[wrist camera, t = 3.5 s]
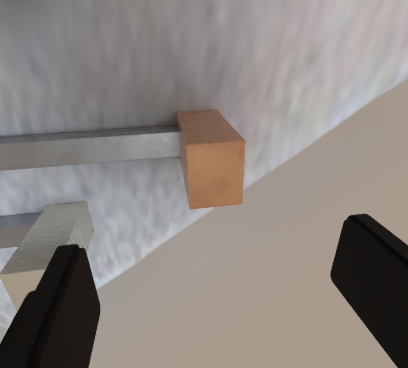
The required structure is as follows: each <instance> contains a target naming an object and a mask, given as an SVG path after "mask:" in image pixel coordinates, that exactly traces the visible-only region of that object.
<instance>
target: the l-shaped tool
mask: <svg viewBox="0 0 408 368" xmlns="http://www.w3.org/2000/svg"><path fill="white" fill-rule="evenodd" d="M93 232H94V230H93V226H92V222H91V218H90V215H89V211H88V207H87V203H86V201H85V202H75V203H65V204H54V205H47V206H46V207H45V209H44V210H43V212H39V213H29V214H19V215H9V216H0V248H9V247H18V246H19V247H18V248H17V250H16V251H15V252H14V254H13V255H12V257H11V258H10V260H9V261H8V263H7V264H6V265H5V267H4V268H3V270H2V271H1V273H0V278H1V280H2V282H3V284H4V286H5V288H6V290H7V292H8V294H9V296H10V298H11V300H12V302H13V304H14V305H15V307H16V309H17V311H18V310H19V308H20V306H21V304H22V302H23V300H24V299H25V297H26V296H27V294H28V293H29V292H31V291H35V289H36V287H37V286H38V284H39V282H40V280H41V278H42V276H43V274H44V272H45V270H46V268H47V266H48V264H49V262H50V260H51V258H52V256H53V254H54V252H55V250H56V248H57V247H58V246H61V245H70V244H78V245H79V247H80V248H85V250H86V253H87V250H88V247H89V244H90V241H91V238H92V235H93Z"/></svg>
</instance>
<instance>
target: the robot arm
mask: <svg viewBox="0 0 408 368" xmlns="http://www.w3.org/2000/svg"><path fill="white" fill-rule="evenodd" d="M331 279H332V282H333V283H334V284H335V286H336V287H337V288H338V290H339V291H340V292H341V294H342V295H343V296H344V297H345V299H346V300H347V302H348V303H349V304H350V306H351V307H352V308H353V309H354V311H355V312H356V313H357V315H358V316H359V317H360V319H361V320H362V321H363V323H364V324H365V325H366V327H367V328H368V329H369V331H370V332H371V333H372V335H373V336H374V337H375V339H376V340H377V341H378V342H379V344H380V345H381V346H382V348H383V349H384V350H385V352H386V353H387V354H388V356H389V357H390V358H391V360H392V361H393V362H394V363H395V365H396V366H397V367H398V368H408V245H407V244H405V243H404V242H403V241H401V240H400V239H399V238H397V237H396V236H395V235H394V234H392V233H391V232H390V231H389V230H387V229H386V228H385V227H383V226H382V225H381V224H380V223H378V222H377V221H375V220H374V219H373V218H372V217H371V216H369V215H368V214H357V215H351V216H349V217H348V218H347V220H345V221H344V223H343V227H342V231H341V235H340V238H339V243H338V246H337V250H336V254H335V258H334V261H333V265H332V269H331ZM99 317H100V302H99V299H98V295H97V291H96V287H95V283H94V280H93V276H92V272H91V268H90V265H89V261H88V257H87V253H86V250H85V248H80V247H79V245H78V244H70V245H61V246H58V247H57V248H56V250H55V252H54V254H53V256H52V258H51V260H50V262H49V264H48V266H47V268H46V270H45V272H44V274H43V276H42V278H41V280H40V282H39V284H38V286H37V287H36V289H35V291H31V292H29V293H28V294H27V296H26V297H25V299H24V300H23V302H22V304H21V306H20V308H19V310H18V312H17V313H16V315H15V317H14V319H13V321H12V323H11V325H10V327H9V328H8V330H7V332H6V334H5V336H4V338H3V340H2V342H1V344H0V368H88V367H89V363H90V358H91V353H92V349H93V344H94V339H95V335H96V330H97V325H98V321H99Z"/></svg>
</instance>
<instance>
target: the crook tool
mask: <svg viewBox="0 0 408 368" xmlns="http://www.w3.org/2000/svg"><path fill="white" fill-rule="evenodd" d="M244 154H245V140H244V139H243V138H242V137H241V136H240V135H239V134H238V133H237V131H236V130H235V129H234V128H233V127H232V126H231V125H230V124H229V123H228V122H227V121H226V120H225V118H224V117H223V116H222V115H221V114H220V113H219V112H218V111H217V110H205V111H188V112H177V125H174V126H158V127H143V128H128V129H113V130H97V131H82V132H67V133H51V134H36V135H21V136H6V137H0V171H1V170H14V169H26V168H39V167H51V166H64V165H76V164H89V163H101V162H114V161H127V160H139V159H152V158H164V157H177V156H180V162H181V167H182V172H183V177H184V182H185V187H186V192H187V197H188V202H189V207H190V209H198V208H208V207H217V206H227V205H236V204H242V196H243V176H244Z"/></svg>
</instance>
